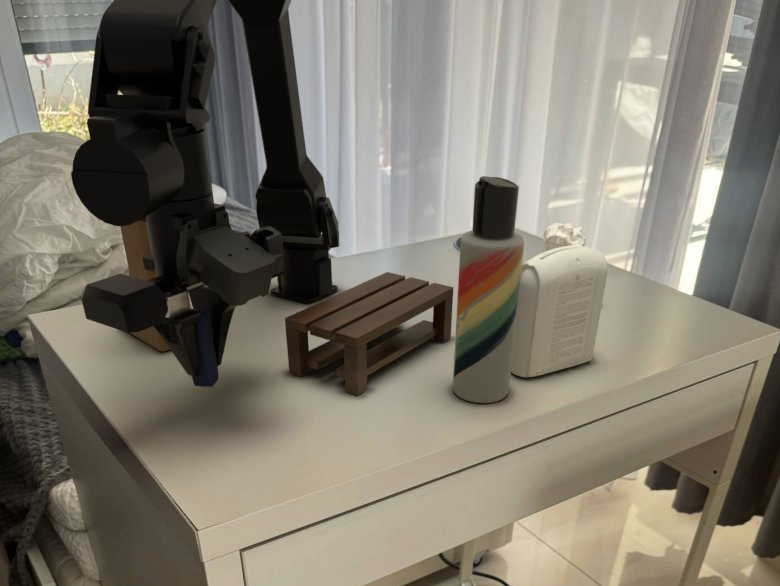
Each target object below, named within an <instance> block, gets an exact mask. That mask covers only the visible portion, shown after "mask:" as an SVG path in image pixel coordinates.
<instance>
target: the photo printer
mask: <svg viewBox="0 0 780 586" xmlns="http://www.w3.org/2000/svg"><path fill="white" fill-rule="evenodd" d="M608 268H609V267H608V262H607V259H606V256H605V254H604V253H603V252H602V251H600V250H597V249H594V248H591V247H589V246H586V245H584V246H563V247H559V248H555V249H552V250H549V251H546V250H545V251H544V252H541V253H539V254H536V255H535V256H532V257H531V258H529V259H528V260H527V261H526V262H524V263H522V270H521V280H520V290H519V299H518V309H517V318H516V328H515V338H514V347H513V357H512V367H511V374H514V375H515V376H518V377H521V378H532V377H539V376H542V375H546V374H549V373H550V374H551V373H553V372H556V371H560V370H561V371H562V370H564V369H568V368H571V367H575V366H578V365H583V364H586V363H587V362H589V361H591V360H592V359H593V356H594V351H595V347H596V346H595V345H596V340H597V334H598V329H599V323H600V318H601V317H600V316H601V312H602V306H603V301H604V300H603V299H604V296H605V289H606V284H607V278H608V272H609V271H608V270H609V269H608Z"/></svg>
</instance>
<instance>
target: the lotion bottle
mask: <svg viewBox="0 0 780 586" xmlns="http://www.w3.org/2000/svg"><path fill="white" fill-rule="evenodd" d="M519 191H520V186H519V185H518V184H517V183H515V182H513V181H511V180H509V179H507V178H504V177H499V176H487V175H485V176H480V177H479V179H478V181H476V183H475V184H474V194H473V211H472V228H471V229H472V230H469V231H466V232H464V233H463V235H462V236H461V239H460V248H459V264H458V265H459V267H458V280H457V281H458V283H457V284H458V285H457V298H456V299H457V302H456V303H457V304H456V316H455V317H456V318H455V319H456V320H455V338H454V353H453V354H454V356H453V373H452V374H453V376H452V390H453V392H454V394H455V395H456V396H457V397H459V398H460V399H462V400H465V401H467V402H470V403H476V404H477V403H478V404H489V403H495V402H498V401H501V400H503V399H504V398H506V397H507V395H508V393H509V391H510V383H511V376H512V372H511V367H512V357H513V347H514V338H515V328H516V318H517V309H518V299H519V290H520V280H521V270H522V265H523V259H524V248H525V239H524V237H523V236H522V235H521V234H519V233H516V232H515V231H516V230H515V229H516V222H517V221H516V219H517V210H518V202H519V201H518V200H519Z"/></svg>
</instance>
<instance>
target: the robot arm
mask: <svg viewBox="0 0 780 586" xmlns="http://www.w3.org/2000/svg"><path fill="white" fill-rule="evenodd" d="M227 1H228V3H229V4H230V6H231V8H233V10H234V11H235V12H236V14H237V15H238V16H239V18H240V20H241V23H242V28H243V34H244V40H245V47H246V52H247V58H248V64H249V70H250V76H251V80H252V81H251V82H252V87H253V94H254V99H255V105H256V111H257V119H258V124H259V130H260V136H261V141H262V146H263V147H262V148H263V153H264V159H265V166H266V167H265V170H264V173H263V174H262V175H263V176H262V177H261V180H260V183H259V184H258V187H257V189H256V191H255V201H256V205H255V207H256V209H255V211H256V218H257V223H258V227H259V228H258V229H255V230H254V231H253V232H252V233H250V232H249V231H247V230H246V231H243V232H237V231H236V230H233V228H232V226H231V222H230V216H229V213H228V211H227V210H226V205H224V204H218V203H215V199H214V191H213V186H212V185H213V184H212V176H211V175H212V174H211V167H210V161H209V152H208V143H207V136H206V130H205V124H207V123H209V122H210V120H211V115H210V113H209V111H208V110H207V109H206V104H207V100H208V95H209V90H210V86H211V83H212V82H211V81H212V77H213V72H214V69H215V62H216V58H215V57H216V53H215V49H214V46H213V43H212V40H211V36H210V33H209V31H208V27H209V23H210V20H211V17H212V14H213V11H214V9H215V6H216V3H217V2H218V0H112V2H111V3H110V4H109V6H108V7H107V8H106V9H105V11H104V12H103V14H102V16H101V18H100V22H99V26H98V29H97V32H96V37H95V45H94V54H93V62H92V70H91V81H90V89H89V95H88V103H87V105H88V106H87V115H88V118H87V119H86V125H87V130H88V134H89V139H87V140H86V141H85V142H83V143H82V144H80V145H79V147H78V149H77V150H76V152H75V154H74V157H73V160H72V170H71V172H70V176H71V181H72V182H71V183H72V186H73V188H74V192H75V194H76V195H77V197H78V199H79V201H80V202H81V204H82V205H83V206H84V207H85V209H86V210H87V211H88V212H89V213H90V214H91V215H92V216H94V217H95V218H96V219H98V220H100V221H101V222H103V223H105V224H108V225H111V226H114V227H120V226H127V225H131V224H133V223H135V222H137V221H143V222H146V225H147V231H148V236H149V242H150V247H151V253H152V255H149V256H146V257H143V263H144V268H145V270H149V271H152V272H155V273H156V278H153V279H150V280H147V281H144V280H141V279H137V278H134V277H131V276H129V275H126V274H123V273H117V274H115V275H112V276H108V277H105V278H102V279H99V280H95V281H93V282H90V283H87V284H86V285H85V286H84V289H83V291H82V293H81V303H82V308H83V312H84V315H85V319H86V320H88V321H92V322H95V323H96V324H97V323H98V324H99V325H103V326H106V327H109V328H112V329H115V330H118V331H121V332H124V333H128V334H131V333H133V332H140V331H142V330H145V329H147V328H150V327H152V326H153V327H154V328H155V330H156V331H157V332H158V333H159V334H160V336H161V337H162V338H163V340H164V341H165V342H166V344H167V345H168V347H169V348H170V350H169V351H170V352H172V354H173V356H174V357H175V358H176V360H177V361H178V363H179V365H180V366H181V367H182V368H183V370H184V371H185V373H186V374H187V375H188V376H190V377H191V378H192V377H197V376H198V357H197V350H196V343H195V335H194V328H193V325H194V323H195V322H196V320H197V318H198V317H199V315H200V314H201V311H198V310H207V311H208V312H209V314H210V320H211V325H212V329H213V342H214V348H215V353H216V359H217V366H218V367H219V366H221V365H222V362H223V357H224V353H225V348H226V343H227V339H228V334H229V330H230V325H231V321H232V319H233V316H234V312H235V310H236V308H237V307H241V306H243V305H247V303H248V302H249V301H251V300H254V299H256V298H258V297H265V296H267V295H268V294H269V293H270V294H271V295H274V296H278V297H280V298H281V297H282V298H286V299H289V300H293V301H297V302H300V303H303V304H310V303H313V302H315V301H317V300H320V299H322V298H324V297H327V296H329V295H330V294H333V293H335V292H337V291H339V286H338V285H335V284H333V271H332V270H333V269H332V259H331V257H330V252H329V251H330V250H331V249H334V248H339V247H340V229H339V221H338V218H337V216H336V215H337V214H336V213H335V210H334V208H333V205H332V202H331V200H330V198H329V197H328V196H327V192H326V186H325V179H324V176H323V175H322V173H321V172H320V171H319V170H318V168H317V167H316V165H315V164H314V163H313V161H312V160H311V159H310V158H309V157H308V154H307V147H306V140H305V131H304V124H303V116H302V109H301V99H300V92H299V83H298V77H297V69H296V60H295V53H294V45H293V38H292V29H291V22H290V14H289V13H290V12H289V8H290V5H291V3H292V0H227ZM119 92H120V93H121V94H119ZM275 278H277V286H276V287H272V288H271V285H272V279H275ZM187 294H189V300H190V304H191V306H192V307H191V308H189V304H188V298H187Z"/></svg>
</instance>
